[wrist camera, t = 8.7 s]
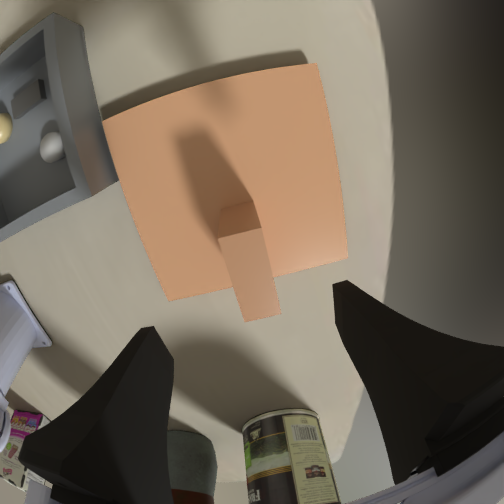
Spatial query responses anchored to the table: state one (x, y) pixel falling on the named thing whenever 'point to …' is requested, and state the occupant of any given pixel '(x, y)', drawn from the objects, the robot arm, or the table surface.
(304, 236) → the lid
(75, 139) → the tub
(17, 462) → the candy bar box
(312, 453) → the coffee can
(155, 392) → the robot arm
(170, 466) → the bottle
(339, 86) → the table surface
